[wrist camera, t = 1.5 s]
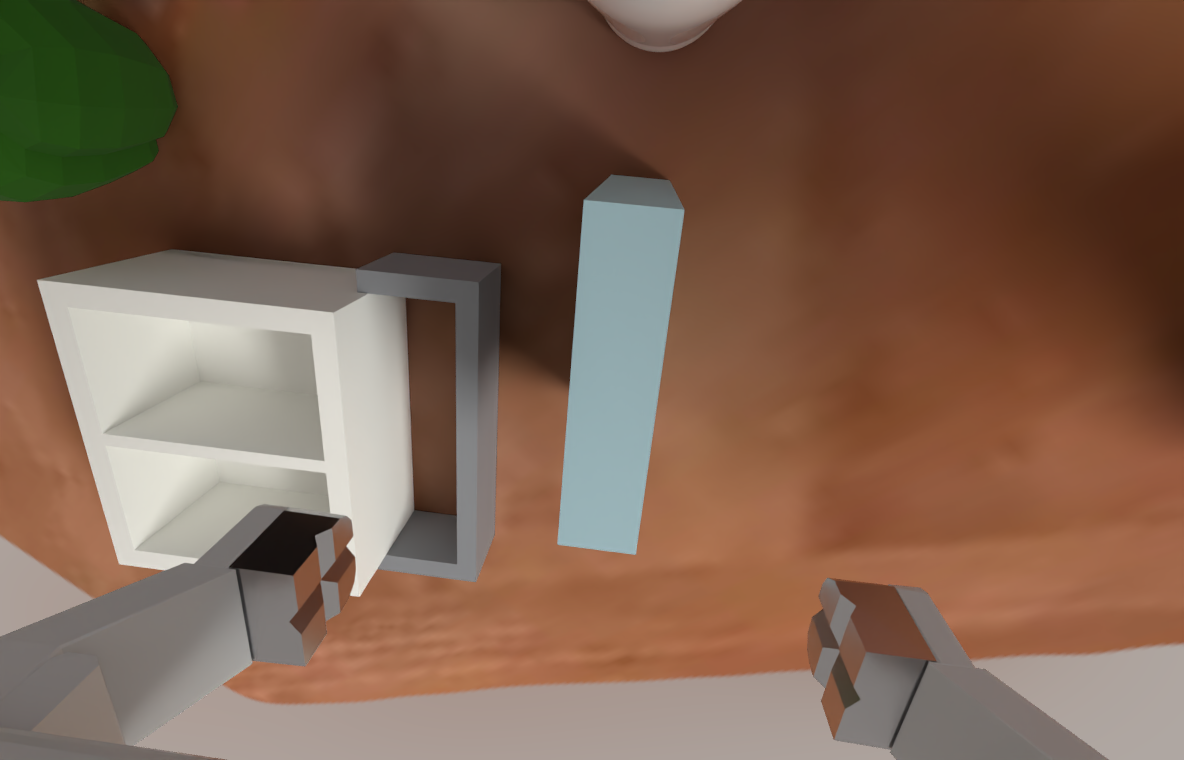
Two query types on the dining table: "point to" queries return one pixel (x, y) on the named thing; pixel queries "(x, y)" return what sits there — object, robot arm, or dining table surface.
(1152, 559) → the dining table surface
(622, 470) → the door
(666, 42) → the drinking glass
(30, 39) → the bell pepper
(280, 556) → the robot arm
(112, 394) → the cabinet
